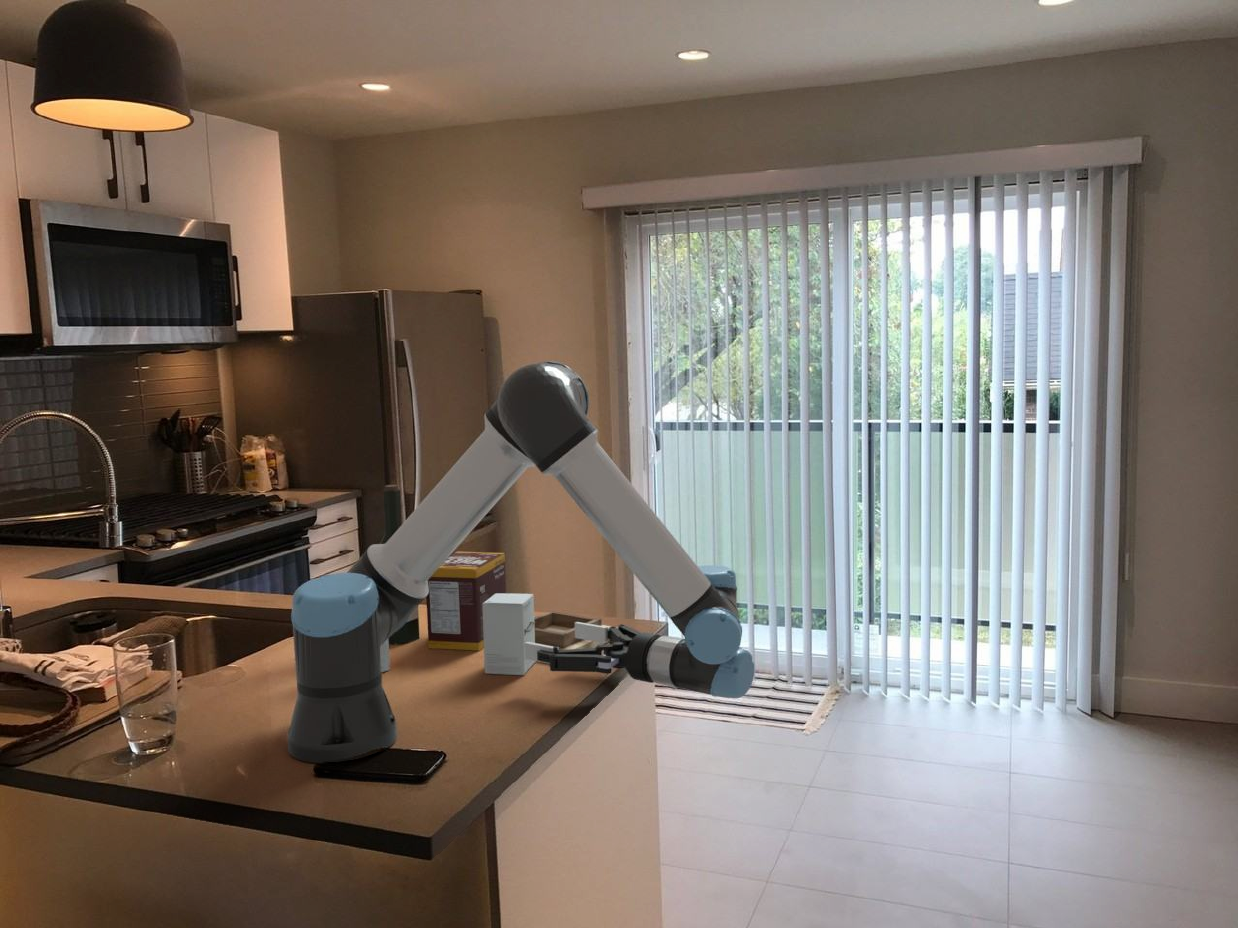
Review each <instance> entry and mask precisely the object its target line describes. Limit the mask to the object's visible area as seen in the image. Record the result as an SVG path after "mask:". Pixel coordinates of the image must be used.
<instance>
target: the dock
mask: <svg viewBox="0 0 1238 928" xmlns="http://www.w3.org/2000/svg"><path fill="white" fill-rule="evenodd" d="M576 622H581V623H587V624H593V625H599V626H605V627H608V628H609V627H612V626H611V625H605V624H602V618H596V617H591V616H584V615H579V614H578V615H577V614H572V613H567V612H562V611H561V612H560V611H554V610H551V611H548V612H544V613H542V614H540V615H538V616H534V625H535V643H537V644H542V645H548V646H557V647H558V648H559V650H570V649H589V648H596V647H597V645H606V643H600V642H595V641H589V640H584V639H578V638H575V623H576ZM615 627H616V628H618V627H617V626H615ZM608 643H610V639H608Z"/></svg>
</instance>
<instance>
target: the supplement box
mask: <svg viewBox="0 0 1238 928" xmlns="http://www.w3.org/2000/svg"><path fill="white" fill-rule="evenodd" d="M505 556H506V554H505V552H482V551H480V552H479V551H478V552H477V551H456V552H453V553H451V555H450V556H449V557H448V558H447V559H446V560H445V561H444V562H443V564H442V565H441V566H440V567H439V568H438V569H437V570H436V571H435V573H434V574H433V575H432V576H431V577H430V578H429V579H428V586H429V593H428V595H427V596H426V597H425V598H426V599H425V600H426V602H425V603H426V618H427V638H428V641H427V642H428V649H434V650H435V649H438V650H457V651H474V652H475V651H476V652H479V651H480V650H482V649H484V634H483V605H482V604H483V603H484V602H485V601H487V600H488V599H489V598H490V597H492V596H493V595H494V594H496V593H507V589H506V588H507V585H506V584H507V583H506V557H505Z"/></svg>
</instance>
